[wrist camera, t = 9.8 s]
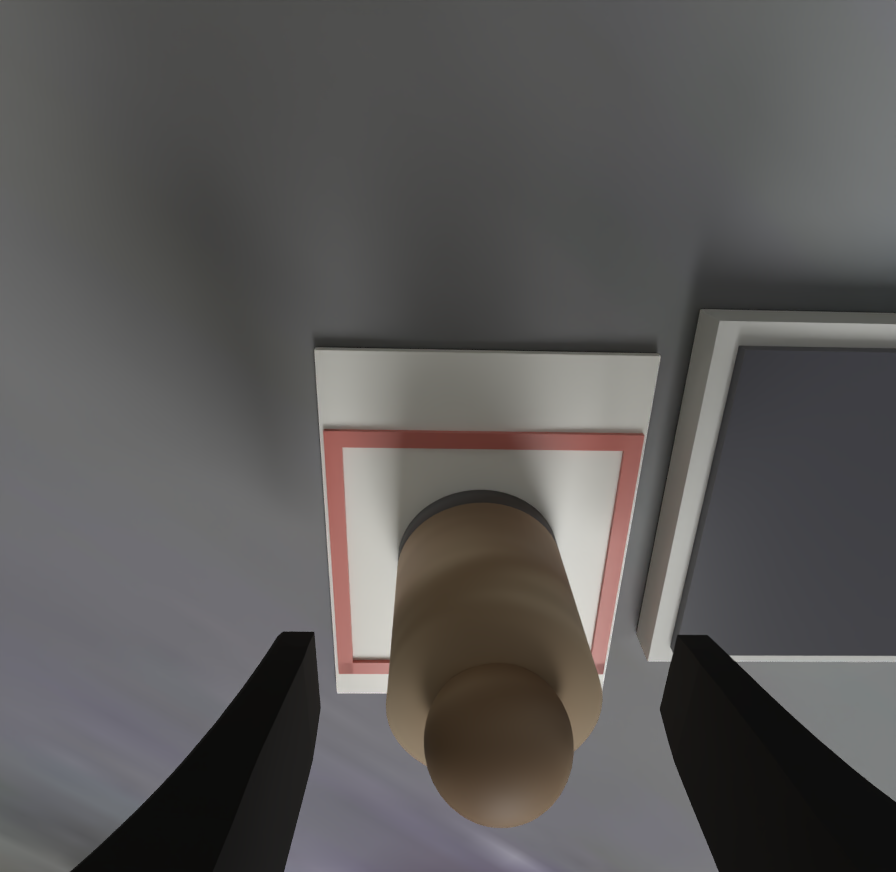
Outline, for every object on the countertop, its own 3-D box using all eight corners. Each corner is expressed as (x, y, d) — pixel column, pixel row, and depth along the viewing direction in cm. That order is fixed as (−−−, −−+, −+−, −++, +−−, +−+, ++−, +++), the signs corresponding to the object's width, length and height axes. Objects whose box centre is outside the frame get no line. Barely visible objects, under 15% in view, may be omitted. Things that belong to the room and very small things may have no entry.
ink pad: (1017, 315, 14) (1073, 331, 12) (885, 634, 17) (918, 670, 16) (700, 309, 13) (726, 324, 12) (636, 634, 17) (651, 670, 16)
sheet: (657, 353, 14) (662, 357, 13) (600, 688, 18) (602, 696, 18) (315, 347, 14) (313, 351, 13) (338, 688, 18) (336, 696, 17)
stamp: (558, 484, 15) (644, 712, 9) (555, 616, 17) (626, 882, 11) (391, 494, 15) (363, 729, 9) (405, 625, 17) (390, 896, 11)
